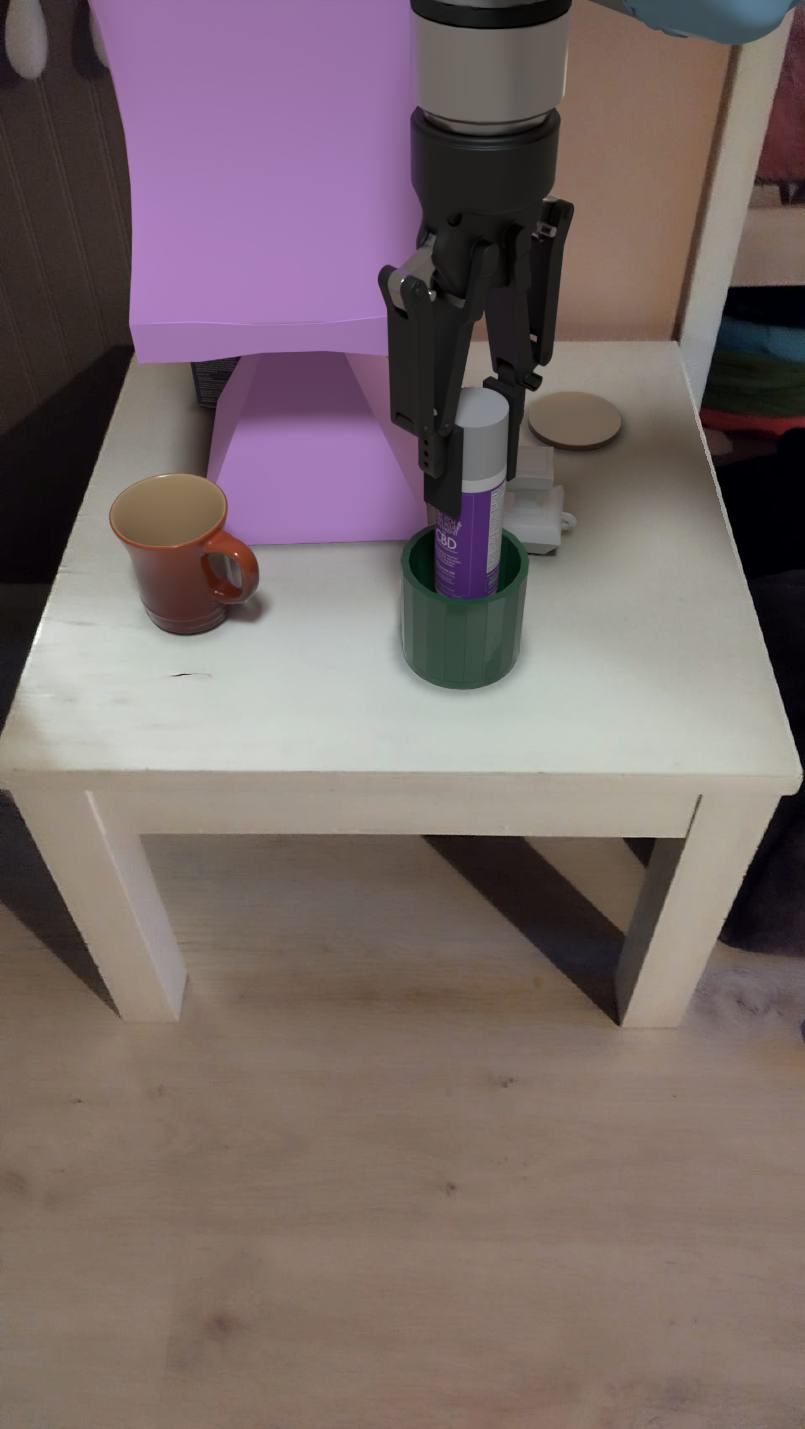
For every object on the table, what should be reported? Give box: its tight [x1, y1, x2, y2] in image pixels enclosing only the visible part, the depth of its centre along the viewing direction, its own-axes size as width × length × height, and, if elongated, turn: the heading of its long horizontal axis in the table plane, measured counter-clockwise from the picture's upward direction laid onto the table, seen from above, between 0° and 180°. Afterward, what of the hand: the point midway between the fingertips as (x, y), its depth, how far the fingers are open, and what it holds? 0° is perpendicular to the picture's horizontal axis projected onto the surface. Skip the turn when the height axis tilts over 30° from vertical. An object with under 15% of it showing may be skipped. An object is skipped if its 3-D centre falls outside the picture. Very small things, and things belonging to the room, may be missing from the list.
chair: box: [87, 0, 429, 546], centre depth 77 cm, size 22×22×45 cm
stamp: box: [502, 445, 578, 555], centre depth 85 cm, size 9×7×8 cm
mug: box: [108, 472, 260, 634], centre depth 78 cm, size 12×9×10 cm
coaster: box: [527, 391, 623, 452], centre depth 98 cm, size 9×9×1 cm
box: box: [189, 356, 242, 409], centre depth 99 cm, size 8×6×11 cm
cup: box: [399, 523, 530, 690], centre depth 76 cm, size 9×9×9 cm
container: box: [434, 386, 509, 599], centre depth 69 cm, size 5×5×15 cm
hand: (470, 488), depth 68 cm, fingers closed on container, 5 cm apart
